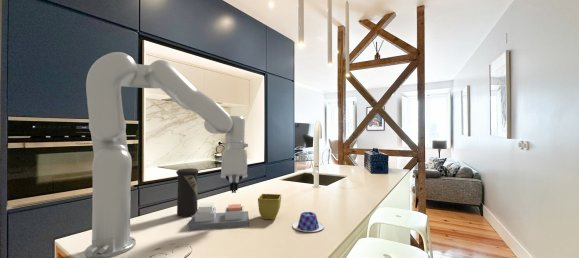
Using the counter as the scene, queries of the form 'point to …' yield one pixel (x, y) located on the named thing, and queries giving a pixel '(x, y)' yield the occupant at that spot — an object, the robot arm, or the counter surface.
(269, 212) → the flower pot
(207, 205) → the white key
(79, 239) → the counter surface
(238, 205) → the brick key
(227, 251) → the counter surface
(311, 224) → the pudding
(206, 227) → the push button panel
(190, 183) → the container
